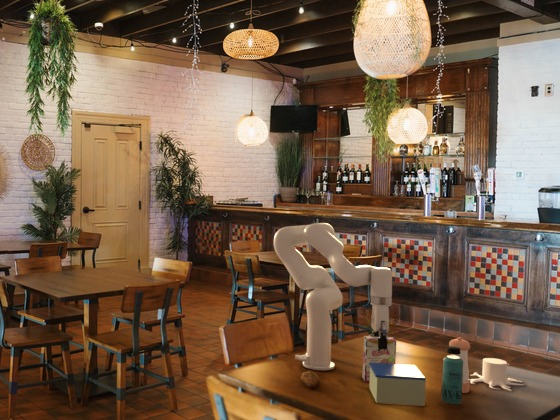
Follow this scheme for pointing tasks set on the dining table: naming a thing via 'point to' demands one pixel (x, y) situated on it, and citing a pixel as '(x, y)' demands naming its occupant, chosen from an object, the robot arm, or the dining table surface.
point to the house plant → (373, 330)
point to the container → (397, 390)
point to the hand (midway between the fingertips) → (380, 345)
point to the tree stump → (494, 374)
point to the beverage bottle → (452, 377)
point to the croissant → (310, 379)
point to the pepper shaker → (464, 349)
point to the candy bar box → (377, 354)
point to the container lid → (396, 371)
